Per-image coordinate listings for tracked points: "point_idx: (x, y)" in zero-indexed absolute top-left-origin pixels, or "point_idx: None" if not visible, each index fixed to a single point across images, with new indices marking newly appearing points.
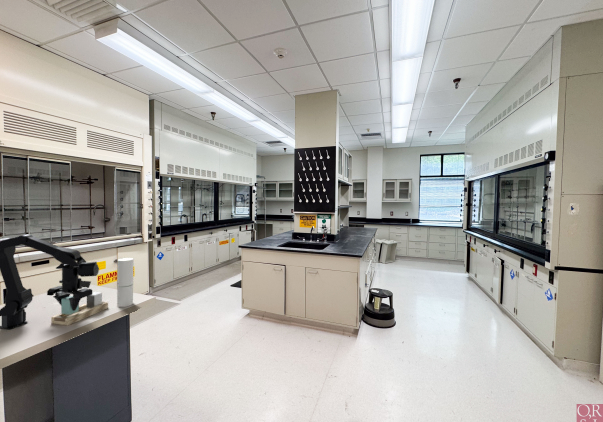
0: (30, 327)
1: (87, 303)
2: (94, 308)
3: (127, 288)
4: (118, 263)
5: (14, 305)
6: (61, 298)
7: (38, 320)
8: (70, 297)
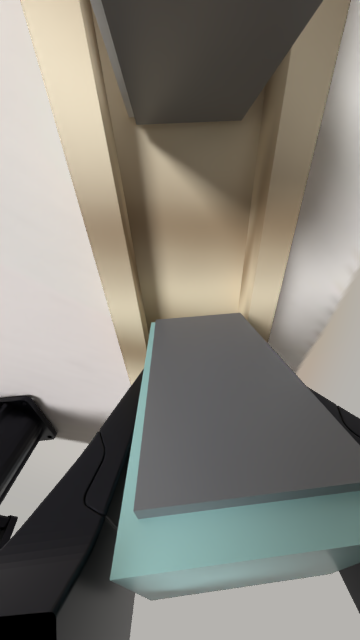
0: (103, 407)
1: (144, 81)
2: (306, 167)
3: None
4: None
5: None
6: (124, 601)
7: (32, 368)
8: (243, 575)
